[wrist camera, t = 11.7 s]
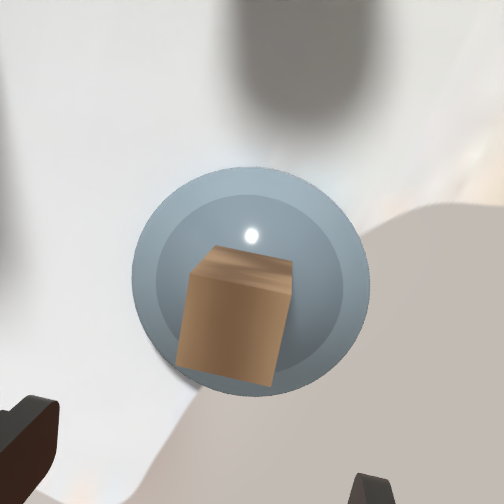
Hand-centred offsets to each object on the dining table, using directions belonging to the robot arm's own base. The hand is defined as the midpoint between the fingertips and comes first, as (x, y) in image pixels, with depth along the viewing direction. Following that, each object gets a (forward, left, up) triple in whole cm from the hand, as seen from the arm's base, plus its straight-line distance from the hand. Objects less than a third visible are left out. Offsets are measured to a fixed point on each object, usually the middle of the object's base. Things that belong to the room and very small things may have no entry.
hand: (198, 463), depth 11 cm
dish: (0, 0, -15) cm, 15 cm away
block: (0, 0, -14) cm, 14 cm away
